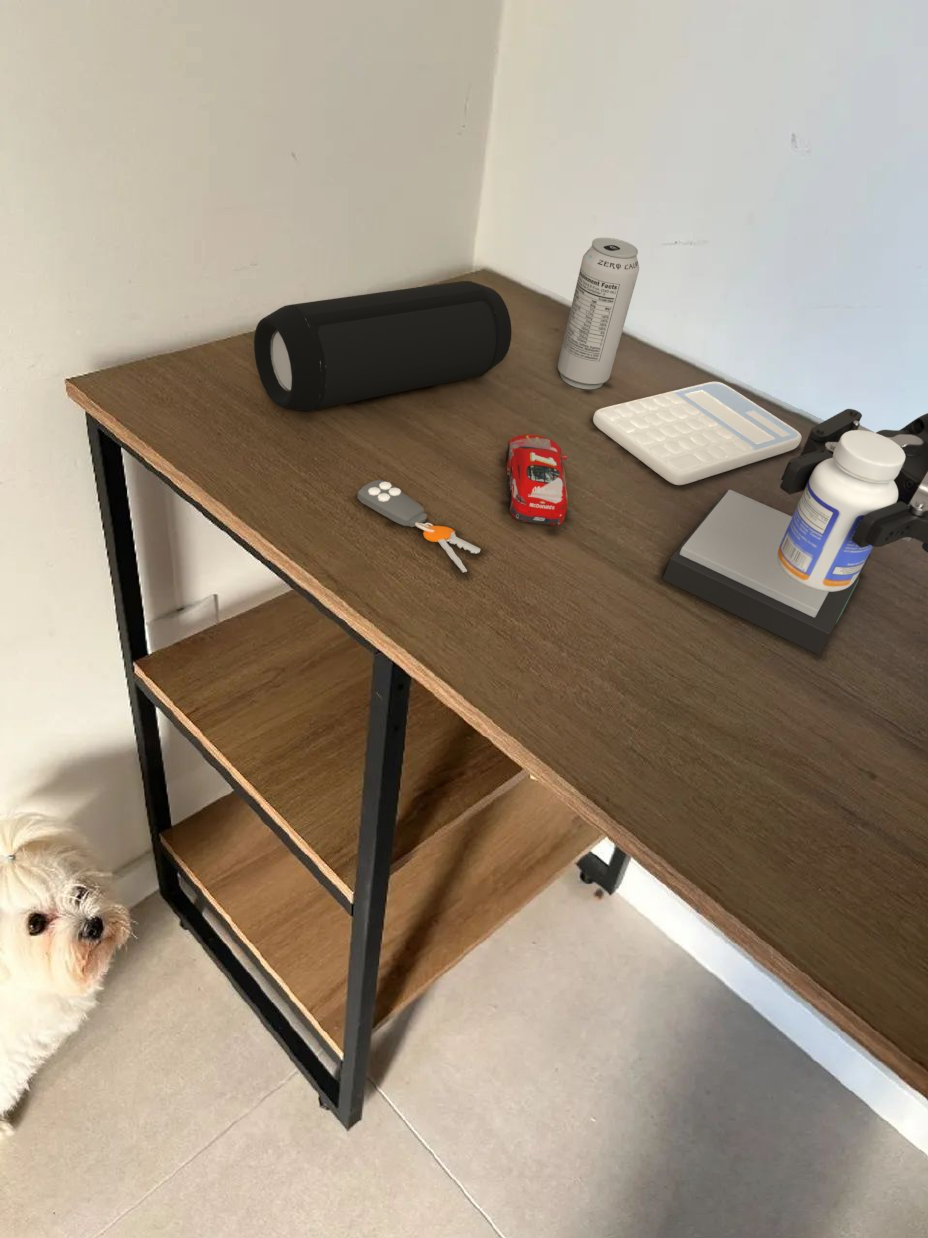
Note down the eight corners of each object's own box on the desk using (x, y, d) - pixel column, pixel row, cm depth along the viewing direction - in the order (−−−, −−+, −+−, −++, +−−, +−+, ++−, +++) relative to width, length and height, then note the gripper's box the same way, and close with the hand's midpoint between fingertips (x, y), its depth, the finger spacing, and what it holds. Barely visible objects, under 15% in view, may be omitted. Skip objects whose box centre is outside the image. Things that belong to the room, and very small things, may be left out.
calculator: (586, 422, 98) (591, 406, 97) (714, 390, 108) (719, 376, 107) (674, 489, 91) (680, 473, 90) (802, 449, 101) (809, 433, 100)
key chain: (351, 502, 81) (352, 488, 80) (381, 487, 84) (382, 473, 83) (463, 575, 76) (466, 561, 75) (492, 557, 78) (495, 543, 77)
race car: (503, 448, 92) (511, 412, 89) (557, 456, 92) (566, 421, 90) (504, 526, 82) (512, 488, 79) (564, 535, 82) (575, 497, 80)
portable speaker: (455, 349, 106) (468, 262, 100) (507, 389, 101) (525, 301, 94) (249, 387, 93) (249, 290, 87) (296, 436, 88) (299, 336, 81)
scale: (860, 574, 85) (876, 546, 83) (819, 656, 75) (835, 627, 73) (717, 510, 89) (729, 482, 87) (661, 579, 80) (672, 550, 78)
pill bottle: (854, 559, 65) (918, 438, 59) (852, 604, 61) (921, 480, 55) (777, 535, 66) (832, 414, 59) (770, 578, 62) (828, 453, 55)
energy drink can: (618, 385, 106) (655, 253, 96) (582, 396, 102) (616, 261, 93) (581, 361, 109) (613, 232, 99) (544, 371, 106) (574, 238, 96)
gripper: (919, 358, 68) (762, 395, 60) (1102, 461, 60) (948, 520, 52) (875, 446, 73) (724, 492, 65) (1038, 553, 65) (888, 620, 57)
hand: (824, 504), depth 58 cm, fingers closed on pill bottle, 5 cm apart
